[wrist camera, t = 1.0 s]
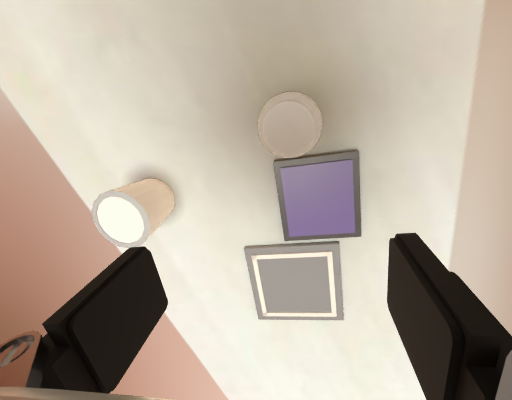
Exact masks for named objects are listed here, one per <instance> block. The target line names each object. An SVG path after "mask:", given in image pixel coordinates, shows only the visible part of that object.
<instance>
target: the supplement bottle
mask: <svg viewBox="0 0 512 400" xmlns="http://www.w3.org/2000/svg"><path fill="white" fill-rule="evenodd" d="M321 131H322V116H321V113H320V110H319V108H318V106H317V105H316V103H315V102H314V101H313V100H312V99H311V98H309V97H308V96H306V95H304V94H302V93H299V92H283V93H280V94H278V95H276V96H274V97H272V98H271V99H270V100H269V101H268V102H267V103H266V104H265V105H264V107H263V108H262V110H261V112H260V115H259V118H258V134H259V137H260V140H261V142H262V143H263V145H264V146H265V147H266V149H267V150H268V151H270V152H271V153H273V154H274V155H276V156H279V157H283V158H295V157H299V156H302V155H304V154H306V153H307V152H308V151H310V150H311V149H312V148H313V147H314V146H315V144H316V143H317V141H318V140H319V137H320V135H321Z"/></svg>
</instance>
